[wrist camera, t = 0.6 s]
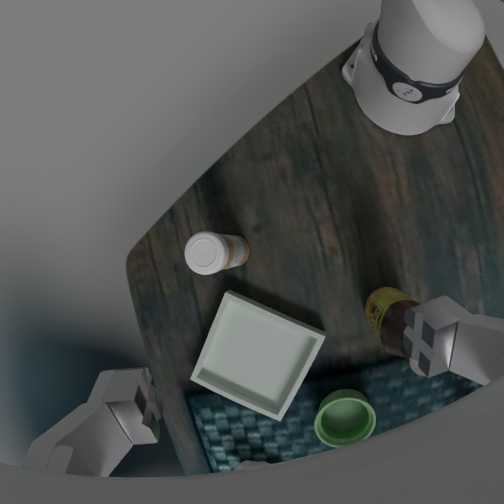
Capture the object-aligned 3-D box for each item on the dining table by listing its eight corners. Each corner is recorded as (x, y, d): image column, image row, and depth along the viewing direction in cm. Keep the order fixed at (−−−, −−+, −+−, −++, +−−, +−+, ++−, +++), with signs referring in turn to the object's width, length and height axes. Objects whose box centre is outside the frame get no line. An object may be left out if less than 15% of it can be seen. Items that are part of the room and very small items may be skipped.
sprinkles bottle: (216, 261, 48) (178, 268, 34) (224, 231, 47) (188, 226, 34) (246, 270, 47) (218, 280, 34) (254, 239, 46) (228, 237, 33)
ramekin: (357, 374, 44) (360, 386, 40) (380, 417, 43) (385, 431, 39) (304, 401, 46) (303, 414, 41) (330, 441, 45) (330, 456, 41)
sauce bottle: (357, 295, 44) (385, 332, 24) (396, 278, 43) (450, 301, 23) (371, 336, 43) (404, 396, 24) (410, 319, 42) (465, 367, 23)
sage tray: (230, 289, 47) (225, 292, 45) (325, 331, 45) (325, 336, 42) (196, 373, 49) (190, 379, 46) (282, 413, 46) (280, 421, 44)
